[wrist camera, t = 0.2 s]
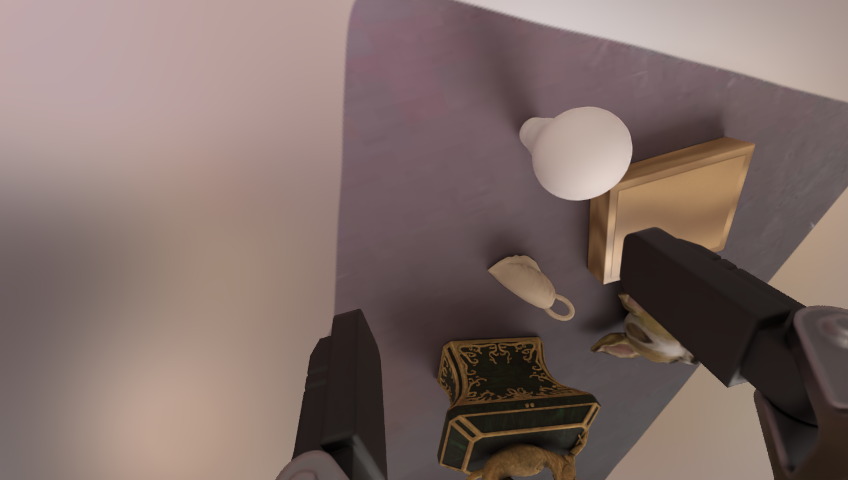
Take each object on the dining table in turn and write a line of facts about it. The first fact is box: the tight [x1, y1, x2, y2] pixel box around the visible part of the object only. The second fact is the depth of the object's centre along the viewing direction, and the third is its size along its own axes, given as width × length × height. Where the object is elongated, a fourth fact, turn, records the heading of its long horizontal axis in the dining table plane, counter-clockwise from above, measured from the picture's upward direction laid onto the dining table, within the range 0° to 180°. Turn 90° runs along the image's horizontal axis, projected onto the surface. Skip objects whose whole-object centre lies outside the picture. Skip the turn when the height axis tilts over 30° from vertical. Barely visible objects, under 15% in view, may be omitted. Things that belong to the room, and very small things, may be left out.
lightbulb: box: [519, 107, 632, 200], centre depth 24 cm, size 6×6×11 cm
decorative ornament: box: [488, 255, 575, 321], centre depth 35 cm, size 4×8×5 cm, turn 48°
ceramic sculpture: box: [591, 291, 701, 365], centre depth 41 cm, size 11×9×15 cm
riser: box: [588, 137, 755, 284], centre depth 34 cm, size 12×14×3 cm
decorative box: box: [437, 337, 601, 480], centre depth 35 cm, size 20×10×20 cm, turn 84°
